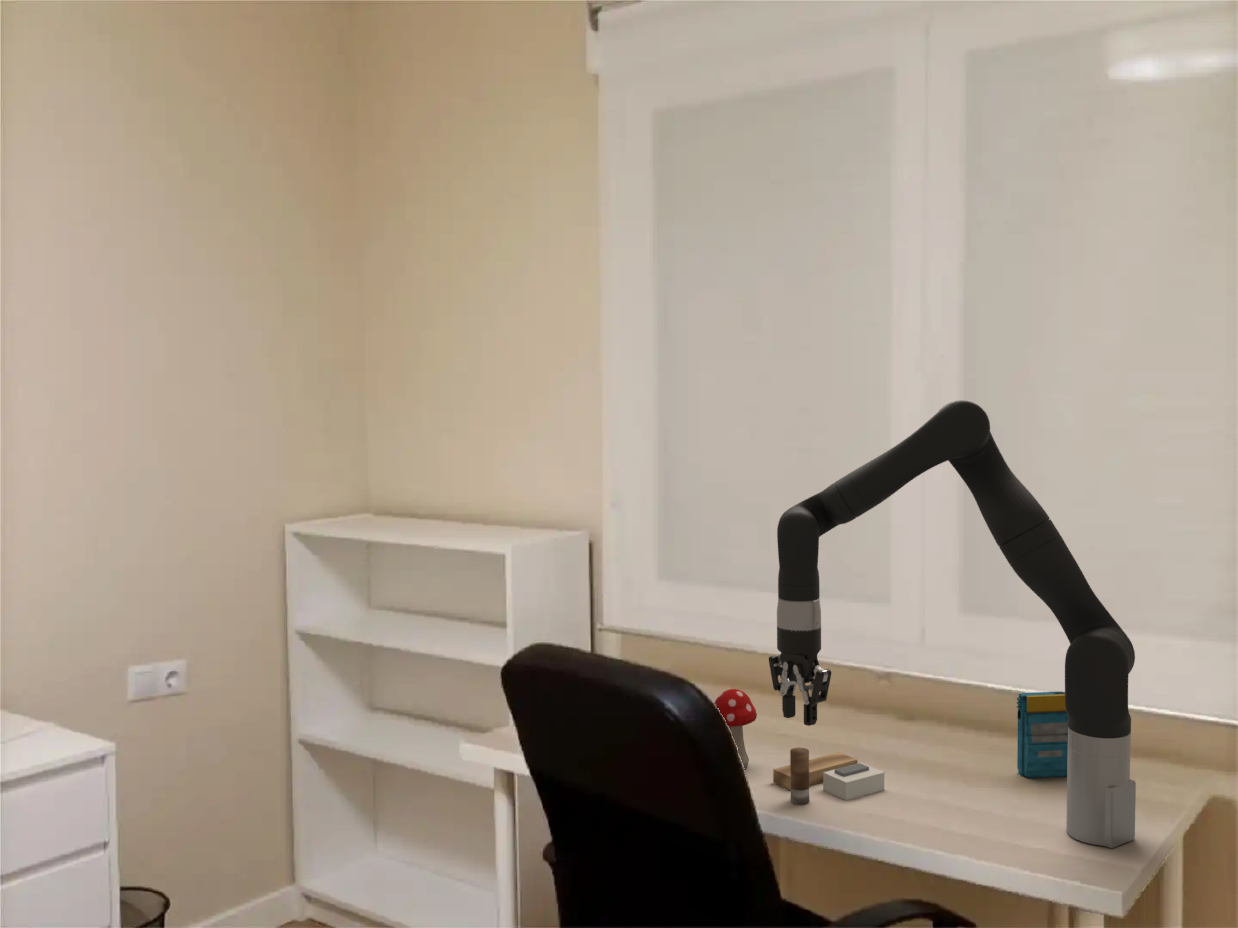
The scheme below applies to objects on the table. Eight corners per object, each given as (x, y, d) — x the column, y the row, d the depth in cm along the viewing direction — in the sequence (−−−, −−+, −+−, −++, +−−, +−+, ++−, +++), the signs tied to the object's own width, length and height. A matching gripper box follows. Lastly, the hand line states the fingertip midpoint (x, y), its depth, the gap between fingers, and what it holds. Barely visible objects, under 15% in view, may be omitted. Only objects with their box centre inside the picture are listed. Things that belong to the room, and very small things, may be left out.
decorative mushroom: (737, 779, 209) (736, 699, 208) (699, 769, 215) (698, 691, 214) (767, 765, 217) (766, 687, 216) (729, 755, 223) (728, 680, 221)
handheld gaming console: (1065, 770, 211) (1066, 690, 210) (1076, 777, 207) (1077, 697, 206) (1014, 772, 211) (1015, 692, 210) (1023, 780, 207) (1024, 698, 206)
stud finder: (884, 791, 203) (884, 769, 203) (846, 802, 199) (846, 779, 198) (860, 781, 208) (860, 759, 208) (823, 791, 204) (823, 769, 203)
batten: (857, 772, 212) (857, 759, 212) (791, 790, 204) (791, 777, 203) (838, 765, 216) (838, 752, 216) (773, 782, 208) (773, 769, 208)
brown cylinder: (813, 802, 198) (812, 751, 197) (799, 806, 196) (798, 755, 196) (800, 796, 201) (800, 746, 200) (786, 800, 199) (786, 750, 198)
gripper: (844, 628, 192) (844, 727, 193) (788, 613, 204) (788, 707, 206) (810, 634, 188) (811, 735, 189) (755, 619, 200) (756, 714, 202)
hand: (799, 720), depth 197 cm, fingers open, 4 cm apart
